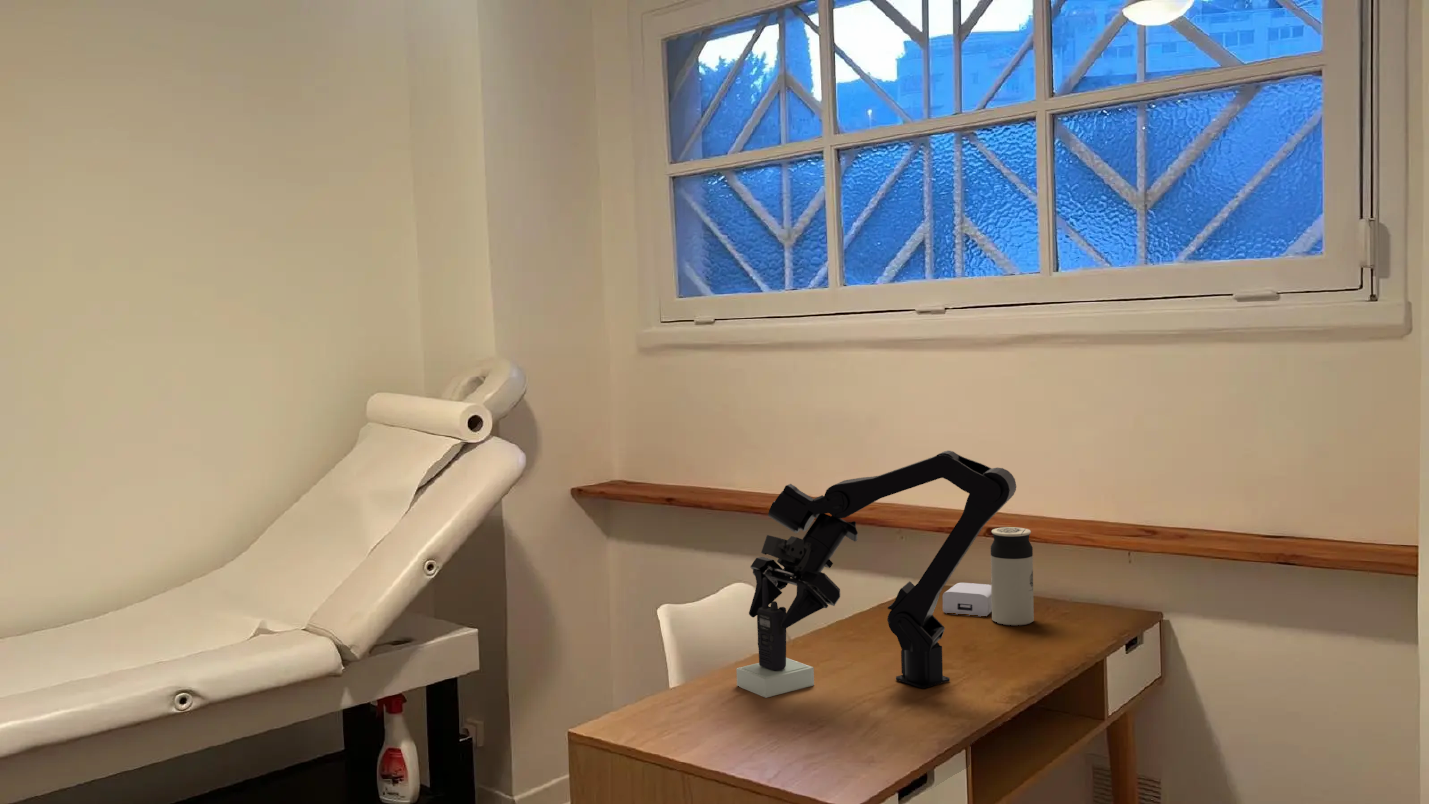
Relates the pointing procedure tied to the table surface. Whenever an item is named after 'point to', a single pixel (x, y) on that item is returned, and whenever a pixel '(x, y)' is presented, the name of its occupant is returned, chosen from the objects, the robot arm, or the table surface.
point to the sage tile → (775, 678)
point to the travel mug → (1012, 576)
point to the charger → (968, 599)
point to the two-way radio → (771, 633)
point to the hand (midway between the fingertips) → (766, 621)
